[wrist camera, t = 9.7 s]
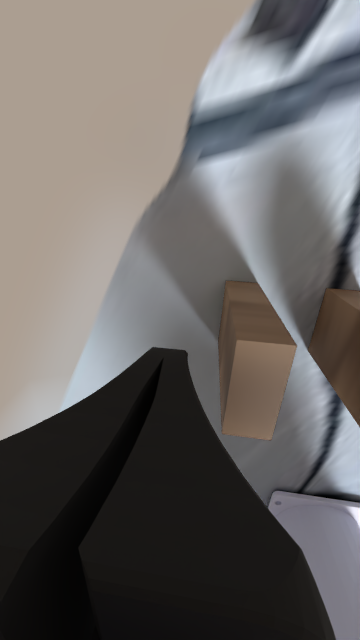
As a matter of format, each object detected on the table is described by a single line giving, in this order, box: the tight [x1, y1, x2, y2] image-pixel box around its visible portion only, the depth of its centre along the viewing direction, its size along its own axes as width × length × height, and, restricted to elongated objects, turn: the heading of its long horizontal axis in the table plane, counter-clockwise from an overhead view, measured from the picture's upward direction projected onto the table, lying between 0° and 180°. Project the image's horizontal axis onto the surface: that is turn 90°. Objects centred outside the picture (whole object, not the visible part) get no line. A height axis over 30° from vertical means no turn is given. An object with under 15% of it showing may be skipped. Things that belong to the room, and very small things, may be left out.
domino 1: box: [218, 281, 297, 440], centre depth 12 cm, size 4×2×7 cm, turn 178°
